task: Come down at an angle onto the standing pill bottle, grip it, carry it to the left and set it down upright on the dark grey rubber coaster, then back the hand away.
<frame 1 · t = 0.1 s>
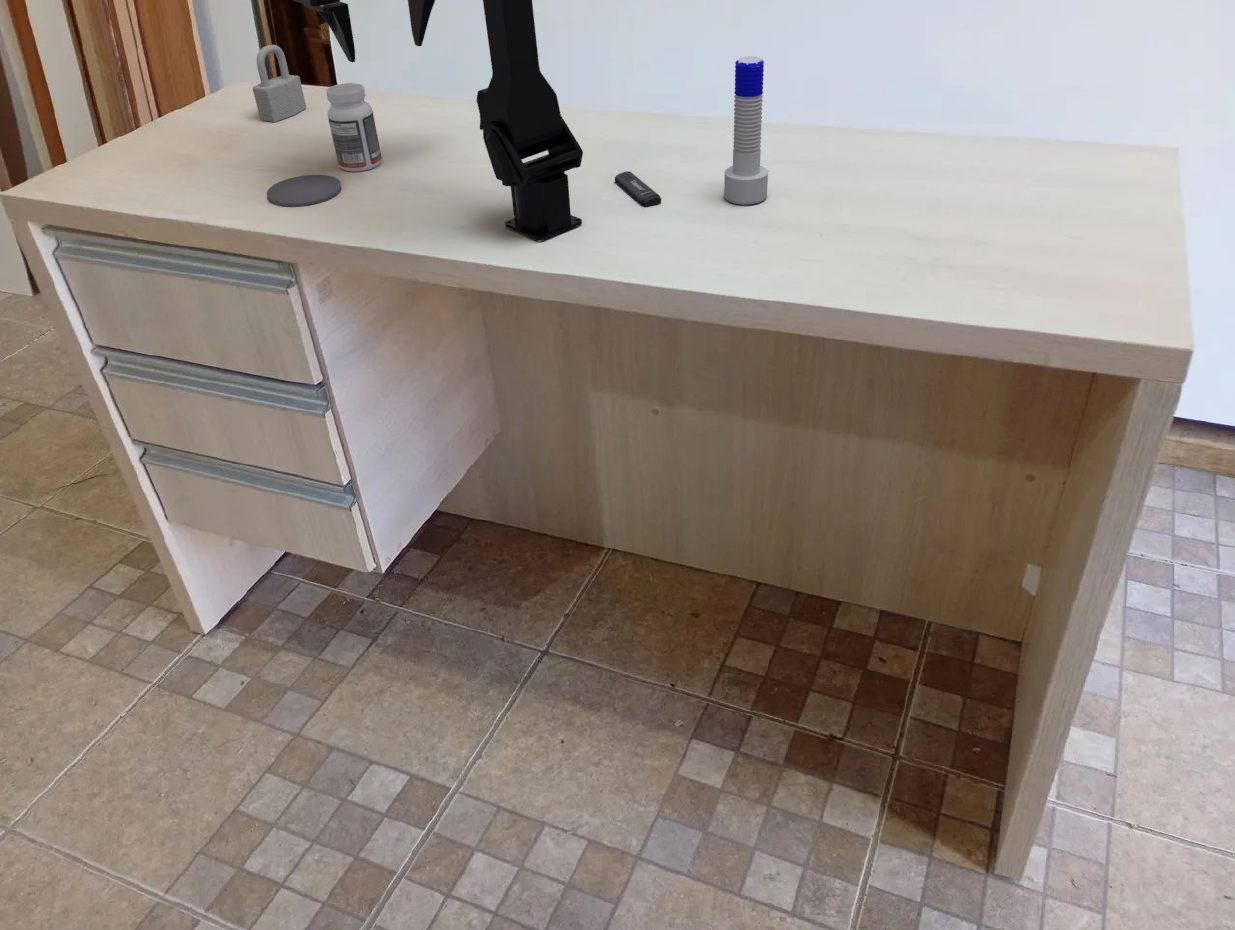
hand: (385, 53, 125), 14 cm above the table, fingers open, 9 cm apart
coaster: (304, 192, 128), on the table
usb stick: (637, 197, 124), on the table
bolt: (745, 199, 120), on the table
padlock: (284, 116, 154), on the table
pill bottle: (361, 166, 135), on the table
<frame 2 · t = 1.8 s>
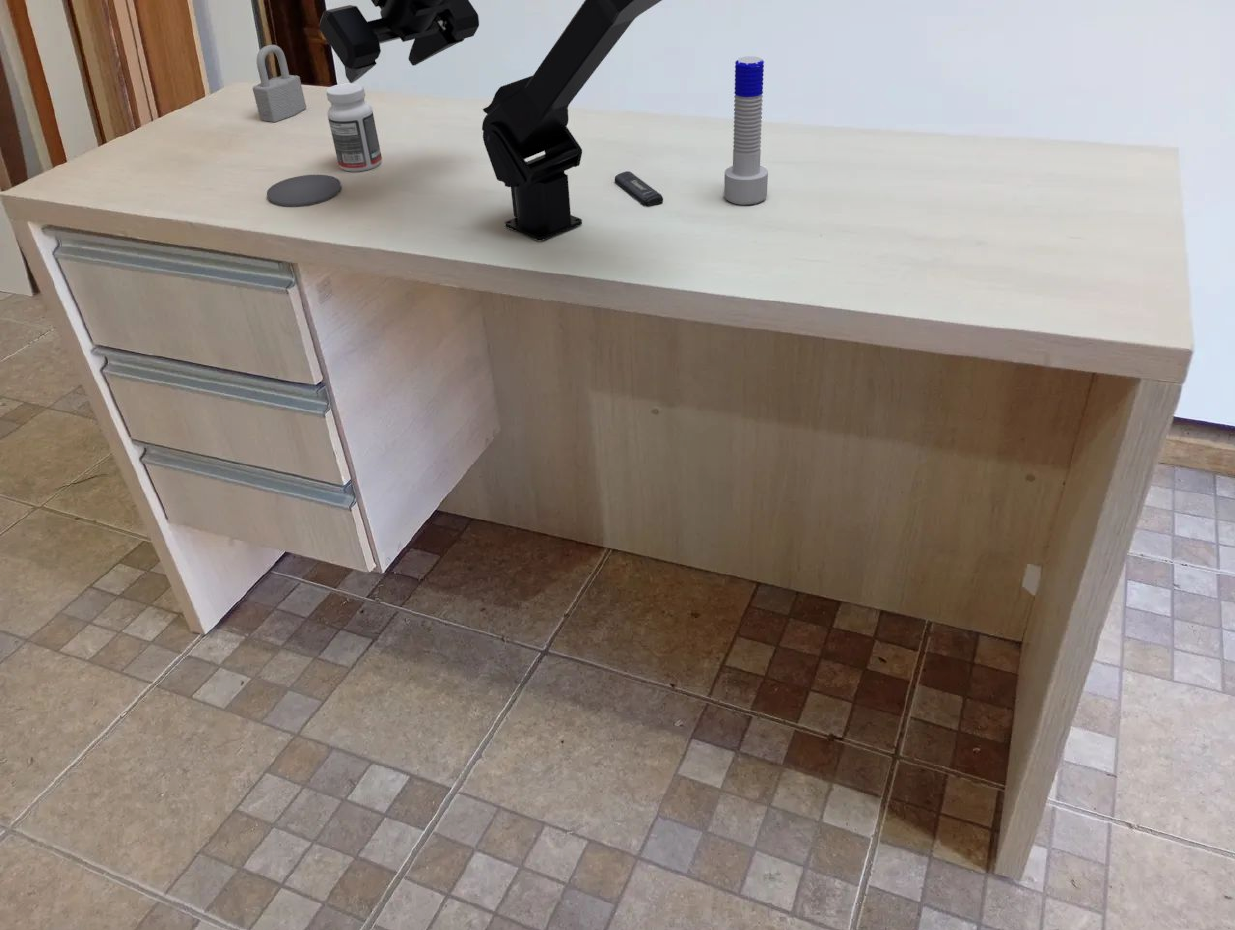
hand: (381, 70, 123), 13 cm above the table, fingers open, 9 cm apart
nothing on the table moved.
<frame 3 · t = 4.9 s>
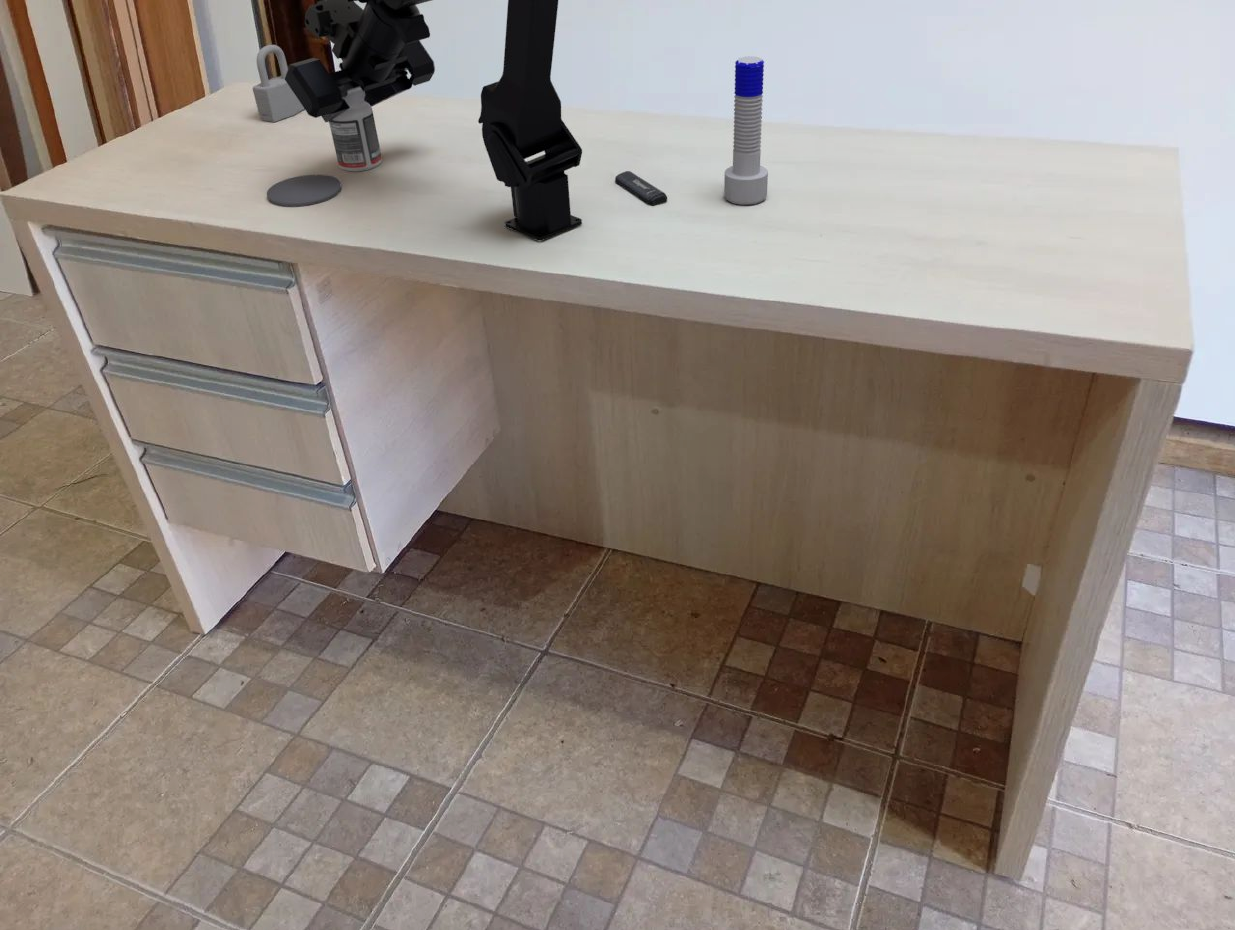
hand: (344, 112, 132), 7 cm above the table, fingers closed on pill bottle, 6 cm apart
pill bottle: (361, 166, 135), on the table, touching gripper
everything else where it was.
when the fingers open (8 cm above the table, at t = 8.3 s): pill bottle stays where it is, resting on coaster.
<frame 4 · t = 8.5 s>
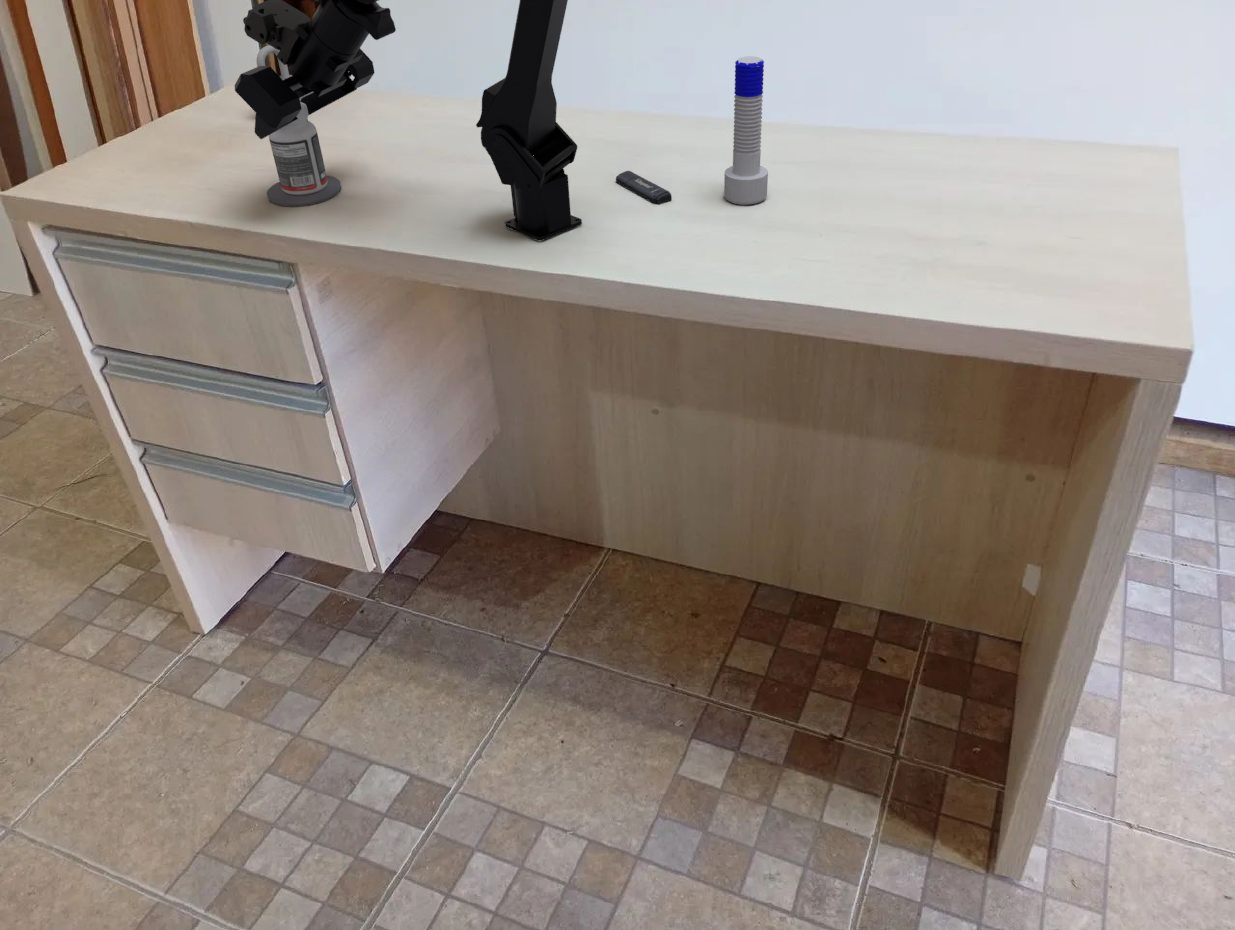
hand: (280, 125, 124), 8 cm above the table, fingers open, 8 cm apart
pill bottle: (305, 189, 128), resting on coaster
everything else where it was.
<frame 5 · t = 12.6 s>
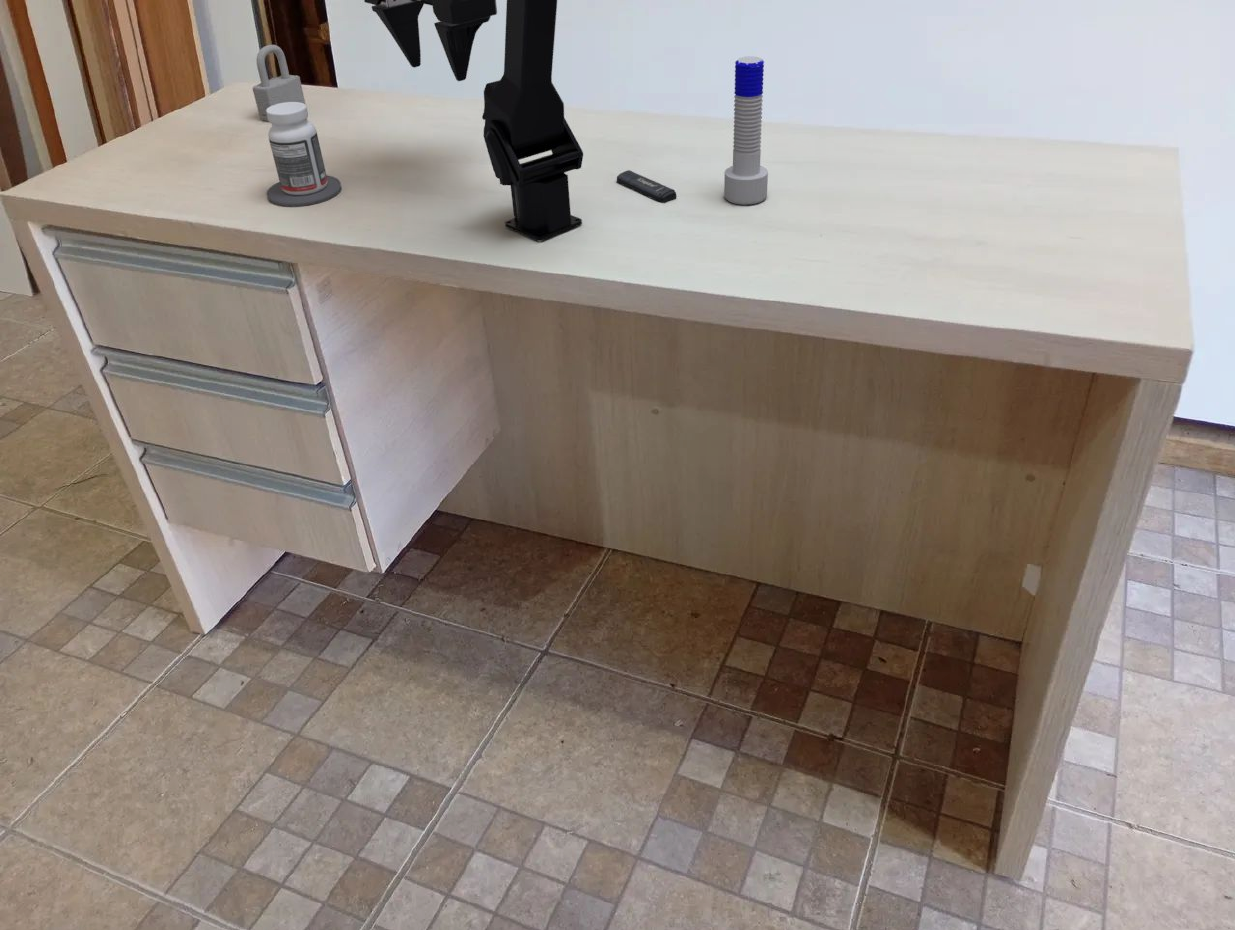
hand: (438, 73, 122), 13 cm above the table, fingers open, 9 cm apart
at the end: pill bottle 0.2 cm from the coaster (horizontally); pill bottle tilted 0°; the gripper is holding nothing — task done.
